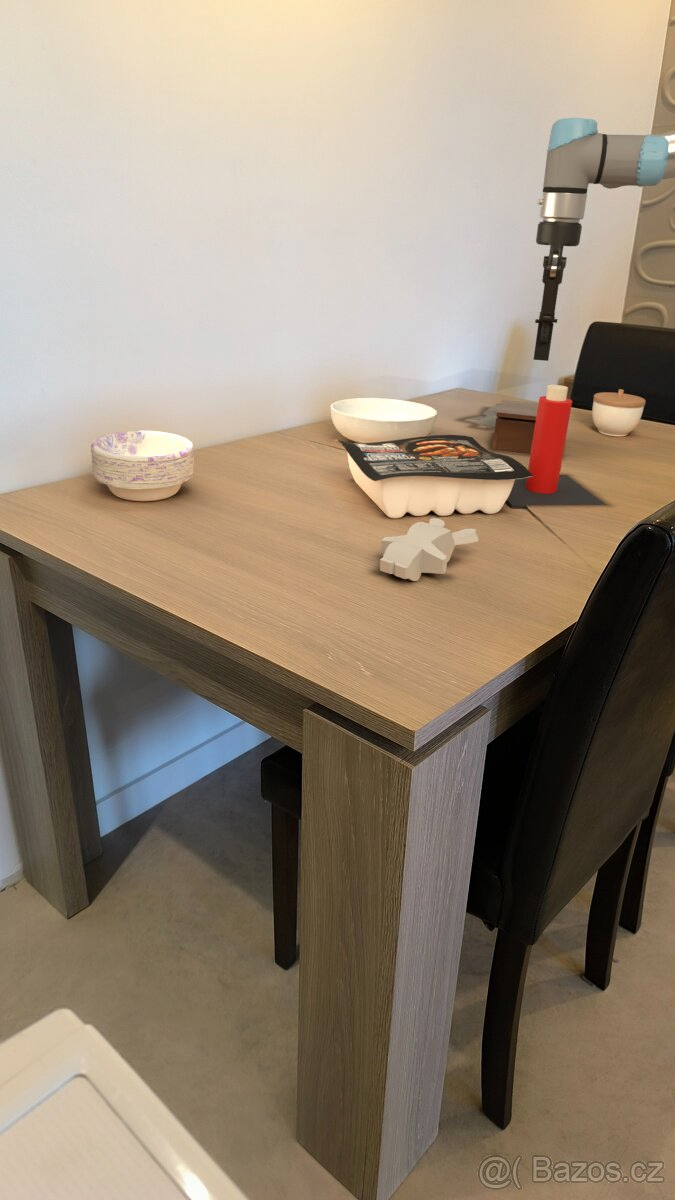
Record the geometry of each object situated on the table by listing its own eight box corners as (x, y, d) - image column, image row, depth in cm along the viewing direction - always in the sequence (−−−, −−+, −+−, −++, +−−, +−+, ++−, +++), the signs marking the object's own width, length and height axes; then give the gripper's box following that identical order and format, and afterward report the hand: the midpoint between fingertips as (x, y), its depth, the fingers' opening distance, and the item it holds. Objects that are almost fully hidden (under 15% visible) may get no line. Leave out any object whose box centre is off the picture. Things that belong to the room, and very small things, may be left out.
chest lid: (564, 423, 154) (565, 419, 153) (496, 416, 156) (496, 412, 156) (563, 409, 168) (564, 405, 167) (501, 403, 170) (501, 399, 170)
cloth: (509, 436, 173) (510, 426, 172) (449, 425, 179) (450, 415, 178) (550, 416, 193) (551, 406, 192) (495, 406, 199) (496, 397, 198)
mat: (566, 478, 148) (566, 475, 147) (605, 508, 133) (606, 504, 133) (480, 478, 145) (480, 474, 145) (511, 508, 131) (512, 504, 130)
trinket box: (632, 442, 174) (641, 397, 170) (582, 433, 179) (590, 389, 175) (642, 432, 183) (651, 389, 179) (594, 424, 187) (602, 382, 183)
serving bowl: (449, 440, 168) (453, 406, 165) (408, 463, 151) (412, 426, 148) (357, 424, 176) (359, 391, 173) (309, 444, 159) (310, 409, 156)
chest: (557, 461, 158) (563, 425, 155) (491, 453, 160) (496, 418, 157) (558, 442, 170) (563, 409, 168) (496, 436, 173) (501, 403, 170)
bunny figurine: (361, 542, 103) (427, 501, 113) (362, 577, 106) (426, 535, 116) (425, 563, 98) (488, 519, 108) (424, 600, 101) (485, 553, 111)
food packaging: (472, 433, 143) (534, 471, 123) (467, 475, 146) (526, 518, 127) (333, 435, 136) (375, 476, 117) (331, 479, 140) (371, 526, 120)
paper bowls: (174, 513, 121) (172, 460, 117) (77, 502, 123) (72, 450, 119) (208, 483, 134) (207, 435, 131) (119, 473, 136) (116, 426, 133)
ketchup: (549, 484, 142) (566, 383, 134) (561, 493, 137) (580, 390, 130) (520, 484, 141) (536, 383, 133) (532, 493, 136) (548, 389, 129)
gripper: (539, 219, 151) (522, 353, 161) (537, 220, 139) (518, 363, 149) (581, 221, 149) (561, 356, 159) (583, 222, 138) (561, 366, 148)
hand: (540, 359), depth 154 cm, fingers closed
